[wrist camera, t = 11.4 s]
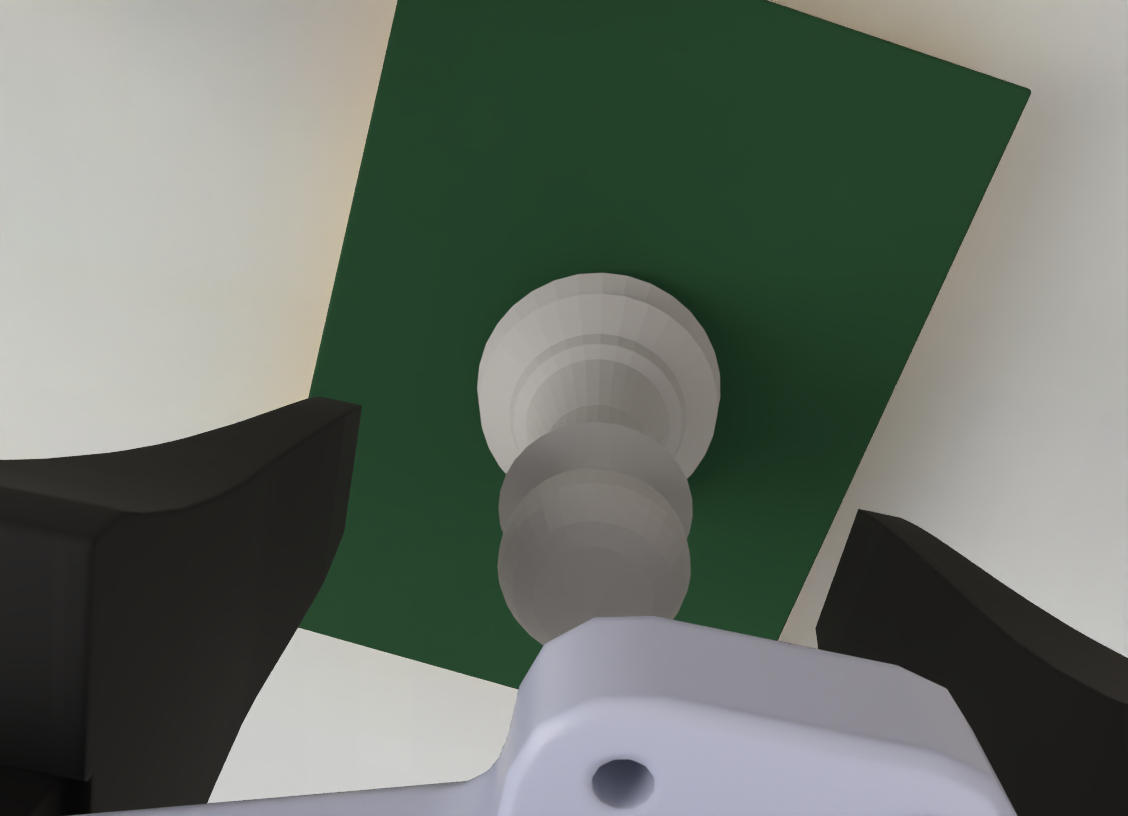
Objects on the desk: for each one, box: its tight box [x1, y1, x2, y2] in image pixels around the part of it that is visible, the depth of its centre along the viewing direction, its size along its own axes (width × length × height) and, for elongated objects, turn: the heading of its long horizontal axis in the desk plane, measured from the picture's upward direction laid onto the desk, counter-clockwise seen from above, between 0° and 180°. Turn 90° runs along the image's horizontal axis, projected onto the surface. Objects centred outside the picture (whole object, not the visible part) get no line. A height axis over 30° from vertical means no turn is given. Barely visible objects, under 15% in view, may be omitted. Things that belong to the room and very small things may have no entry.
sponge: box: [299, 0, 1031, 689], centre depth 20 cm, size 11×15×2 cm
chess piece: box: [477, 273, 720, 645], centre depth 15 cm, size 5×5×8 cm
